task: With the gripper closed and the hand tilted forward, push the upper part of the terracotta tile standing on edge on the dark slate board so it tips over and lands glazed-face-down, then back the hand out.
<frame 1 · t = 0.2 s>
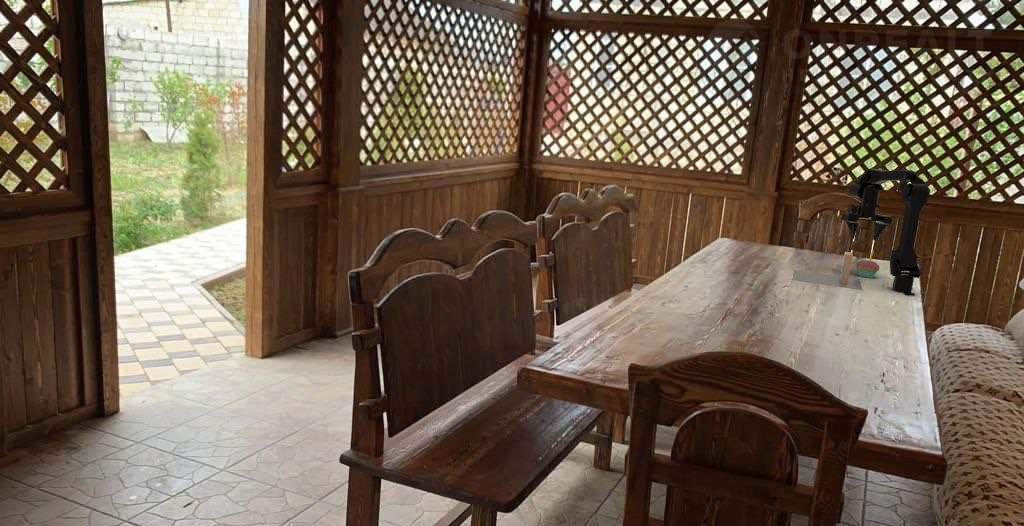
hand: (863, 239, 295), 14 cm above the table, tool pointing down, fingers open, 9 cm apart
board: (843, 284, 278), on the table
cupcake: (865, 278, 293), on the table
tile: (843, 282, 278), point 1 cm above the table, touching board
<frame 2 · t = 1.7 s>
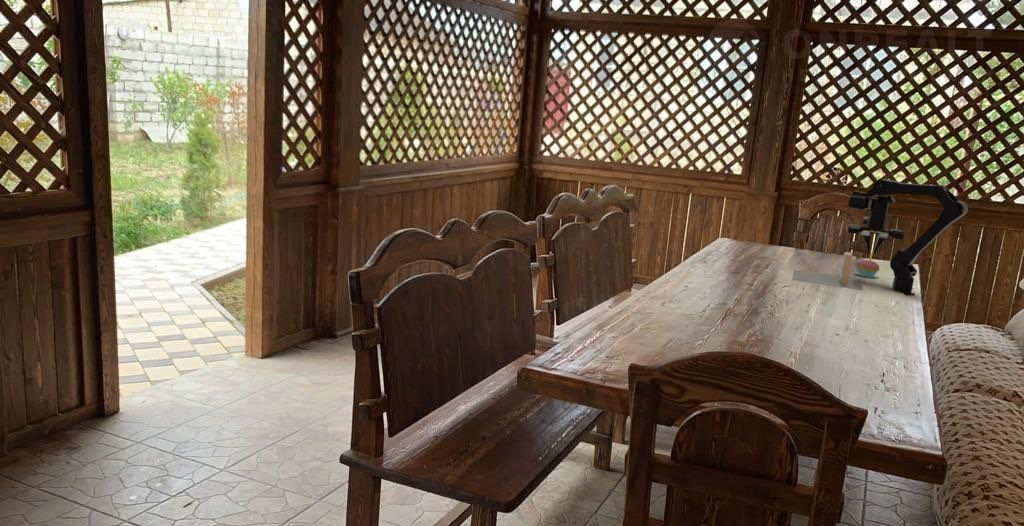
hand: (870, 254, 277), 12 cm above the table, tool pointing down, fingers closed
nothing on the table moved.
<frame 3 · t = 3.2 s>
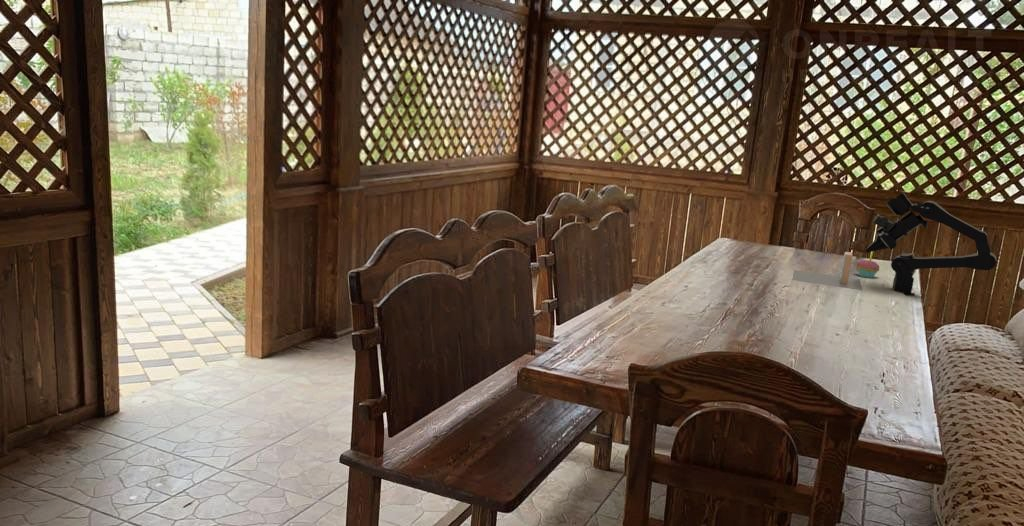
hand: (865, 251, 274), 13 cm above the table, tool tilted 45°, fingers closed
nothing on the table moved.
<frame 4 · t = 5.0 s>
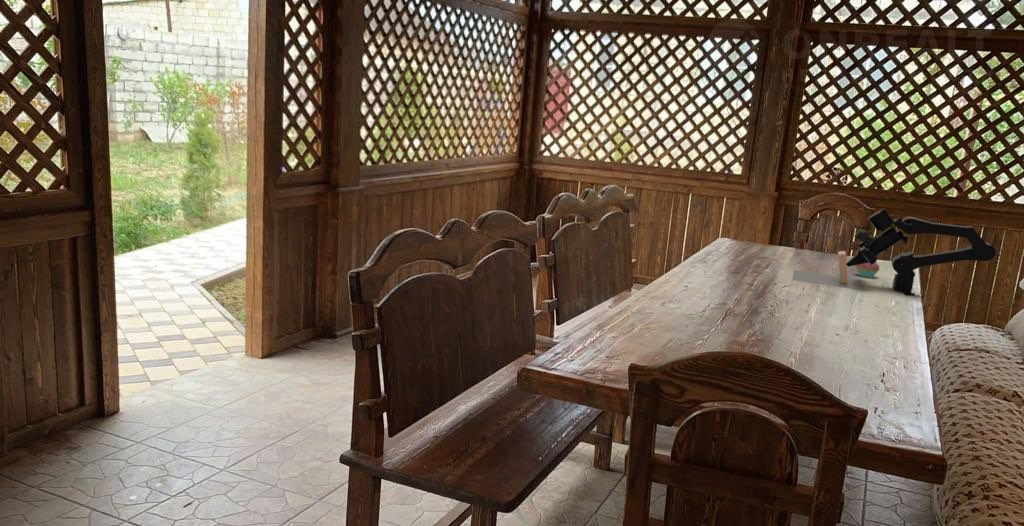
hand: (847, 265, 277), 7 cm above the table, tool tilted 45°, fingers closed
tile: (843, 281, 278), point 1 cm above the table, tilted 12°, touching board
everything else where it was.
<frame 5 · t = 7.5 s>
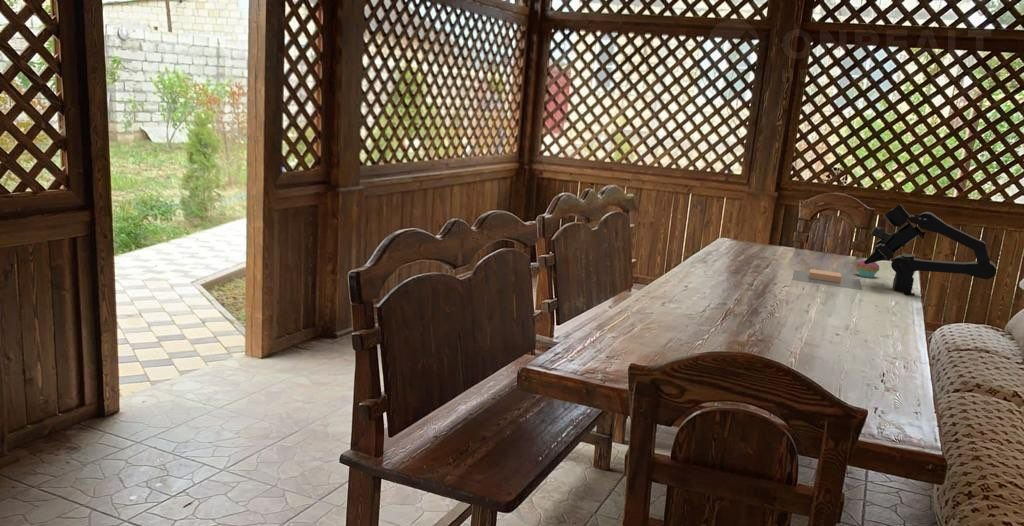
hand: (864, 263, 275), 9 cm above the table, tool tilted 45°, fingers closed
tile: (840, 278, 278), point 2 cm above the table, tilted 90°, touching board
everything else where it was.
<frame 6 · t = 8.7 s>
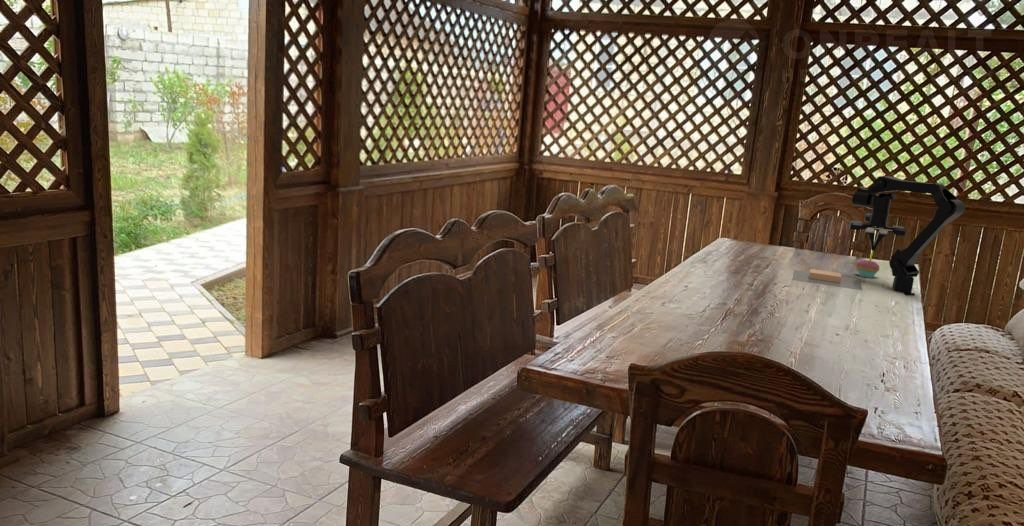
hand: (872, 250, 279), 13 cm above the table, tool pointing down, fingers closed
nothing on the table moved.
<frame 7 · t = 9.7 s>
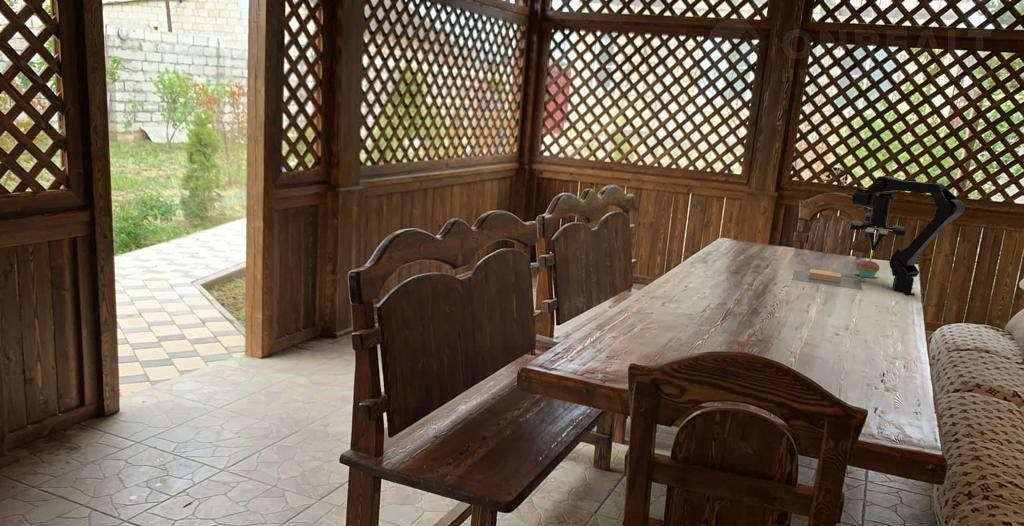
hand: (872, 250, 279), 13 cm above the table, tool pointing down, fingers closed
nothing on the table moved.
at the end: tile tilted 90°; tile inside the target area on the board (8.7 cm from its centre), point 2.0 cm above the board's base; the gripper is holding nothing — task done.
